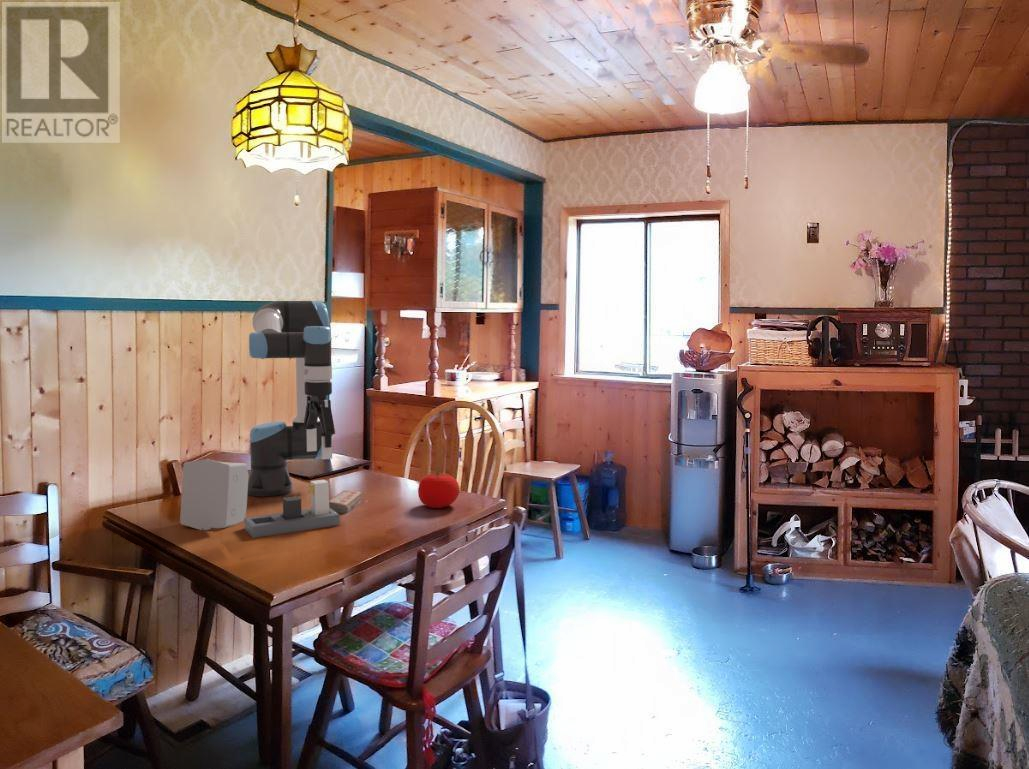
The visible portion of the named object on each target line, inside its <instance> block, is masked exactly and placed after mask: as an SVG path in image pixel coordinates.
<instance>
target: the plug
mask: <svg viewBox="0 0 1029 769" xmlns="http://www.w3.org/2000/svg"><path fill="white" fill-rule="evenodd" d="M329 483H330V482H329V481H328V480H326V479H318V480H317V479H316V480H310V484H308V493H309V495H310V509H311V514H312V515H313V516H316V515H324V514H329V501H330V488H329V487H330V486H329V485H330V484H329Z"/></svg>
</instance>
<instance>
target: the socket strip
mask: <svg viewBox="0 0 1029 769" xmlns="http://www.w3.org/2000/svg"><path fill="white" fill-rule="evenodd" d="M340 519H341V518H340V513H336V512H335V511H334V510H332V509H331V508H329V514H324V515H316V516H313V515H312V514H311V508H308V509H301V518H295V519H288V520H285V519H284V518H283V512H277V513H271V514H262V515H255V516H246V517H245V518H244V520H243V521H244V522H243V524H244V526H243V528H244V530H245V531H246V532H247V533H248V534H249V535H250V537H251V538H253V539H255V538H262V537H268V536H275V535H282V534H288V533H294V532H295V533H296V532H301V531H303V532H304V531H309V530H314V529H315V530H316V529H322V528H327V527H329V528H330V527H334V526H336V527H337V526H340Z"/></svg>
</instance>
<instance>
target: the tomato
mask: <svg viewBox="0 0 1029 769" xmlns="http://www.w3.org/2000/svg"><path fill="white" fill-rule="evenodd" d="M417 489H418V490H417V493H418V499H419V500H420V502H421V503H422V504H423V505H424V506H426V507H428V508H431V509H442V508H445V507H448V506H451V505H452V504H453V503H454V502H455V501H456V500H457V499H458V496H459V494H460V484H459V482H458V480H457V479H456V477H453V476H452V475H450V474H446V473H443V472H434V473H432V472H430V473H429V474H426V475H425V476H423V477H422V478H421V480H420V482H419V484H418V488H417Z"/></svg>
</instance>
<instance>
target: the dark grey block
mask: <svg viewBox="0 0 1029 769" xmlns="http://www.w3.org/2000/svg"><path fill="white" fill-rule="evenodd" d="M301 510H302V499H301V498H300V497H299V496H291V497H288V496H287V497H283V498H282V513H283V518H284V519H285V520H288V519H295V518H301Z"/></svg>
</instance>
